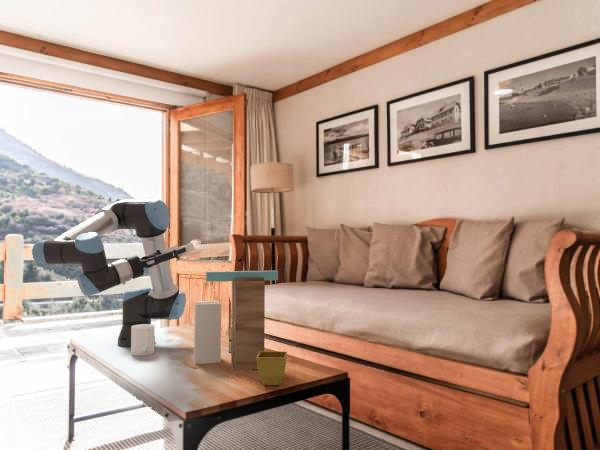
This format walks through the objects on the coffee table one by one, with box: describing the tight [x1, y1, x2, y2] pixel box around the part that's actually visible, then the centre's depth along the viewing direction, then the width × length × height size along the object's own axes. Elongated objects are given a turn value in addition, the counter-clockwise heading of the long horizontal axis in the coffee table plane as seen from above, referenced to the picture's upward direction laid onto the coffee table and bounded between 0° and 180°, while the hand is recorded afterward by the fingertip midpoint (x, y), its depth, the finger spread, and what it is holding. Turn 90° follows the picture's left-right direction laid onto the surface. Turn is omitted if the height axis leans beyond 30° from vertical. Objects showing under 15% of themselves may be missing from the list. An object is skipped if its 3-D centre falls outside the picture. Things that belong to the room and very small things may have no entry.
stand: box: [230, 277, 266, 372], centre depth 164 cm, size 10×10×31 cm
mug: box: [130, 323, 155, 357], centre depth 181 cm, size 9×12×11 cm
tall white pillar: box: [193, 300, 222, 365], centre depth 172 cm, size 8×9×21 cm
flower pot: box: [256, 350, 288, 386], centre depth 144 cm, size 9×9×9 cm
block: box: [205, 270, 279, 283], centre depth 164 cm, size 3×25×3 cm, turn 106°
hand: (185, 247), depth 167 cm, fingers open, 13 cm apart
